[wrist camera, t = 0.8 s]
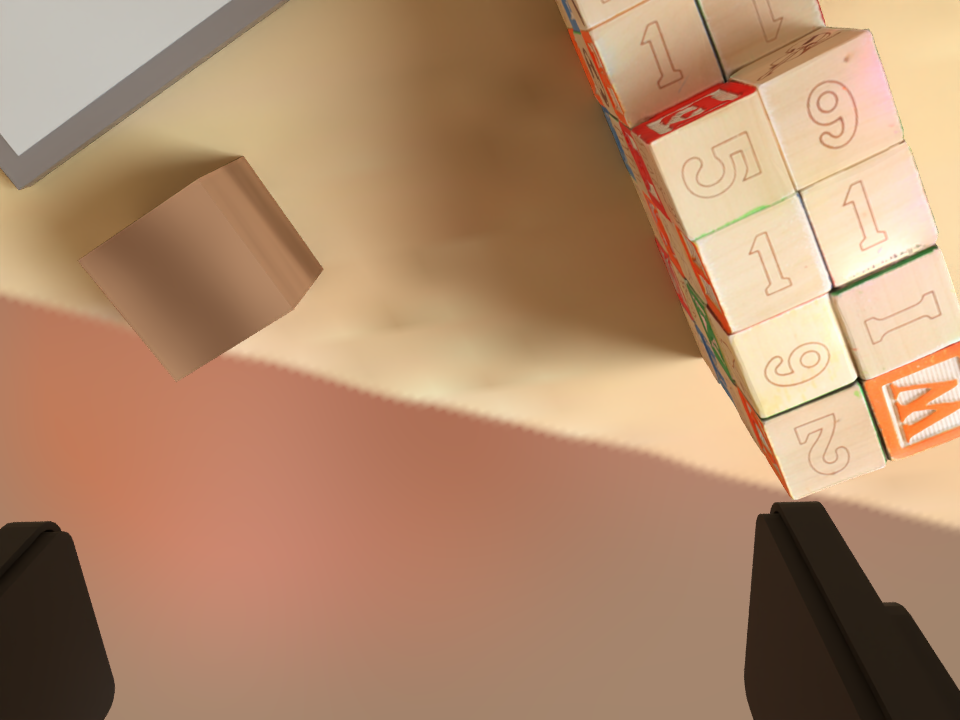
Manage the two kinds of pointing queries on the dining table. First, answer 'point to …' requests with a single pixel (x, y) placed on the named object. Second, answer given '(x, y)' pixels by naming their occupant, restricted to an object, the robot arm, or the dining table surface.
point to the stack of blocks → (785, 223)
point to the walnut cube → (205, 268)
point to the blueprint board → (98, 67)
